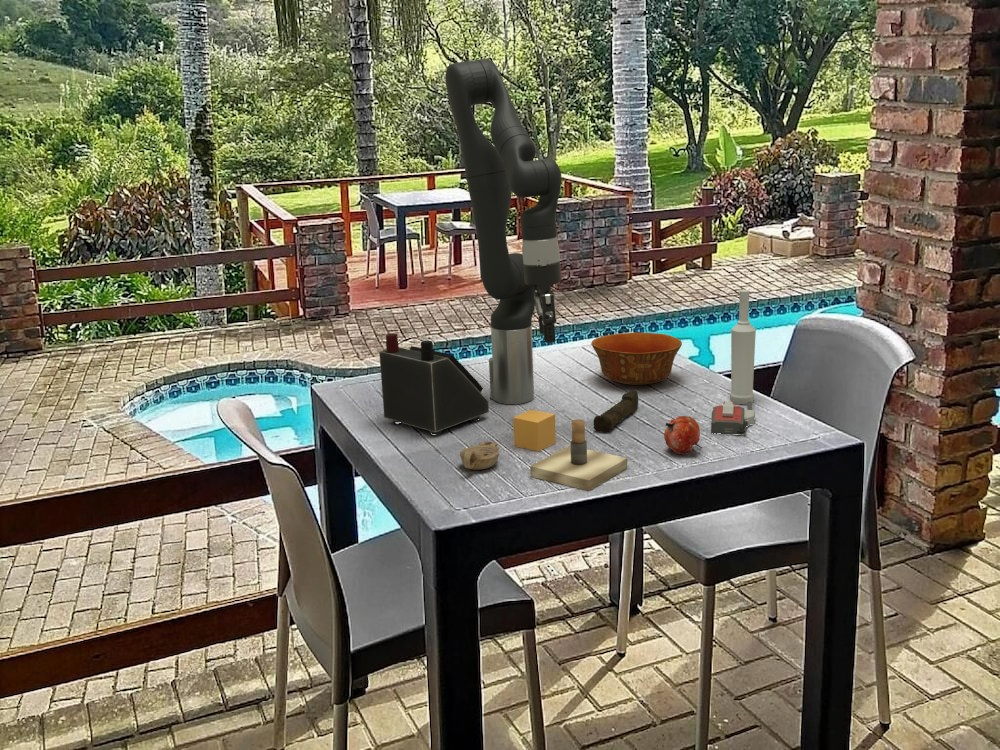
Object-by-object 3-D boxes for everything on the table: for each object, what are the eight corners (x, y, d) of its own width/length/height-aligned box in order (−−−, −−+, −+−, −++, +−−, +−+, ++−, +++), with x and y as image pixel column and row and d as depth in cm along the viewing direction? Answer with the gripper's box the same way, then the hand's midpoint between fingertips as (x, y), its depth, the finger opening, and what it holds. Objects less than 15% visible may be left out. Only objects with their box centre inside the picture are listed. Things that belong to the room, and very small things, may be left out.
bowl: (619, 365, 265) (619, 326, 262) (696, 376, 253) (697, 336, 250) (575, 386, 249) (574, 345, 246) (656, 399, 237) (656, 356, 234)
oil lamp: (475, 453, 209) (474, 429, 207) (510, 457, 206) (509, 432, 204) (447, 476, 197) (446, 451, 196) (484, 481, 194) (483, 455, 193)
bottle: (749, 406, 229) (752, 293, 222) (726, 403, 232) (728, 292, 225) (757, 399, 233) (760, 289, 226) (734, 397, 236) (736, 287, 229)
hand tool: (610, 435, 216) (610, 414, 215) (592, 432, 218) (592, 411, 217) (649, 409, 231) (649, 389, 230) (632, 407, 233) (632, 387, 232)
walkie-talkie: (754, 439, 210) (755, 408, 229) (754, 418, 209) (755, 389, 228) (709, 438, 212) (713, 407, 231) (709, 417, 211) (714, 388, 230)
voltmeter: (490, 418, 229) (486, 329, 224) (435, 438, 218) (430, 345, 212) (439, 404, 240) (434, 319, 234) (384, 423, 228) (377, 334, 223)
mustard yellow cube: (514, 445, 211) (513, 417, 210) (531, 437, 216) (530, 409, 214) (538, 451, 208) (537, 422, 206) (555, 442, 212) (555, 414, 211)
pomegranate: (686, 453, 210) (647, 428, 207) (709, 425, 208) (671, 400, 205) (696, 470, 203) (657, 445, 200) (720, 441, 201) (681, 416, 198)
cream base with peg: (530, 476, 195) (528, 425, 193) (570, 455, 205) (568, 406, 202) (589, 490, 188) (588, 437, 185) (627, 468, 197) (627, 417, 194)
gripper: (519, 256, 220) (526, 332, 224) (526, 267, 206) (533, 347, 211) (555, 253, 220) (560, 328, 225) (564, 263, 207) (570, 343, 211)
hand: (547, 337), depth 218 cm, fingers open, 8 cm apart
